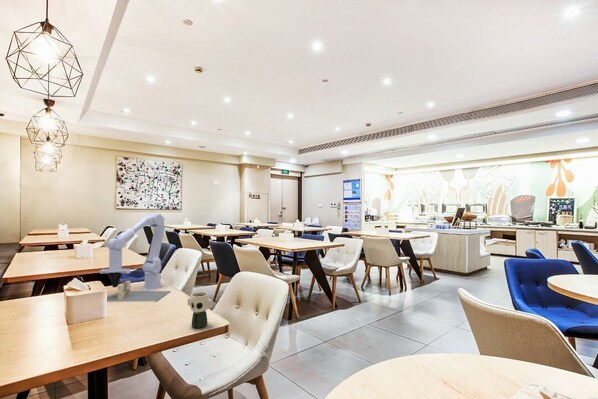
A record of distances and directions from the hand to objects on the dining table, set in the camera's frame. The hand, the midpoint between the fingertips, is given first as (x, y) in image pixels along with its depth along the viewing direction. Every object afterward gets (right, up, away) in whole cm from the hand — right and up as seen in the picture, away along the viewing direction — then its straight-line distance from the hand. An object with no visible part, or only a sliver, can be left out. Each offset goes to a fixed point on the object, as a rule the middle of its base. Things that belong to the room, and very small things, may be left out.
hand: (115, 286), depth 157 cm
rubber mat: (+11, -6, +2) cm, 12 cm away
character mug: (+57, -6, -36) cm, 67 cm away
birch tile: (+5, -5, 0) cm, 7 cm away
